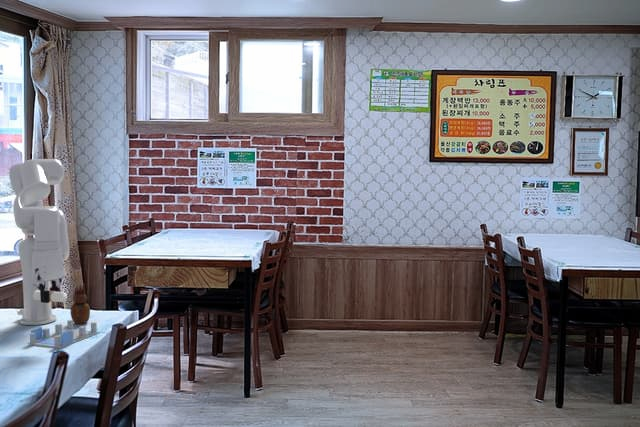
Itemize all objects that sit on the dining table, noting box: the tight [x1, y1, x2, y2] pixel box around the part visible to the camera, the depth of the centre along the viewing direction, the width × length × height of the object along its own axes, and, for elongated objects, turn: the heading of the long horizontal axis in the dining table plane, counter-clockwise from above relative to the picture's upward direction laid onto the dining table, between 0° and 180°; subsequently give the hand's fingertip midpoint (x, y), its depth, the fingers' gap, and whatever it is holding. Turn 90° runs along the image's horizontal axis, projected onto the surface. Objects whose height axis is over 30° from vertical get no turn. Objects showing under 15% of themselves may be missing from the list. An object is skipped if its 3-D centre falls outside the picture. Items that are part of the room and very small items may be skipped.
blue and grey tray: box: [28, 319, 100, 349], centre depth 221 cm, size 13×19×5 cm
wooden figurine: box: [70, 283, 91, 325], centre depth 242 cm, size 7×6×15 cm
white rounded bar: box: [33, 290, 68, 303], centre depth 214 cm, size 11×4×4 cm, turn 70°
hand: (50, 300), depth 214 cm, fingers closed on white rounded bar, 3 cm apart
